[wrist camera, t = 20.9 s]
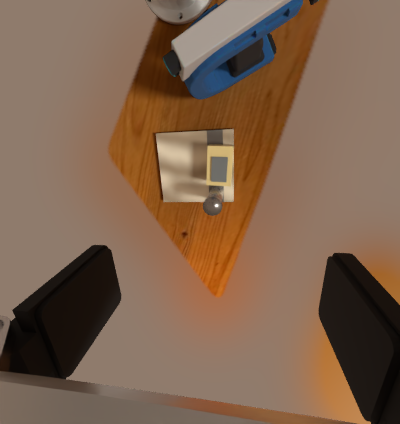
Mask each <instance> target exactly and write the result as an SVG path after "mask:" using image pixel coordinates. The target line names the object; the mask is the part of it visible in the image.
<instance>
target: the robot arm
mask: <svg viewBox="0 0 400 424" xmlns="http://www.w3.org/2000/svg"><path fill="white" fill-rule="evenodd" d="M145 1H146V3H147V4H148V6H149V7H150V9H151V10H152V11H153V13H154V14H155V15H156V16H157V17H159V18H160V19H161V20H163V21H165V22H167V23H170V24H175V25H179V24H186V23H189V22H191V21H193V20H195V19H196V18H198V17H199V16H200V15H201V14H202V13H203V12H204V11H205V10H206V8H207V7H208V6H209V4H210V2H211V0H152V1H151V0H145ZM180 17H183V18H182V19H180ZM120 301H121V292H120V287H119V283H118V278H117V274H116V270H115V265H114V261H113V257H112V252H111V250H110V249H108V247H107V246H105V245H93V246H91V247H90V248H89V249H87V250H86V251H85V252H84V253H82V254H81V255H80V256H79V257H77V258H76V259H75V260H74V261H72V262H71V263H70V264H69V265H68V266H66V267H65V268H64V269H63V270H61V271H60V272H59V273H58V274H56V275H55V276H54V277H53V278H51V279H50V280H49V281H48V282H46V283H45V284H44V285H43V286H42V287H40V288H39V289H38V290H37V291H35V292H34V293H33V294H32V295H30V296H29V297H28V298H27V299H25V300H24V301H23V302H22V303H21V304H19V305H18V306H17V307H16V308H14V309H13V313H14V315H15V317H16V318H14V319H13V320H12V321H10V319H9V318H8V317H6V316H0V424H355V423H350V422H344V421H338V420H332V419H326V418H321V417H314V416H308V415H301V414H295V413H289V412H282V411H275V410H269V409H263V408H256V407H249V406H242V405H237V404H230V403H223V402H217V401H210V400H203V399H196V398H189V397H184V396H177V395H170V394H163V393H156V392H150V391H143V390H136V389H129V388H122V387H116V386H109V385H102V384H95V383H87V382H80V381H73V380H66V377H69V376H70V375H71V374H72V373H73V372H74V370H75V369H76V367H77V366H78V364H79V362H80V361H81V360H82V358H83V357H84V355H85V354H86V352H87V351H88V349H89V348H90V346H91V345H92V343H93V342H94V340H95V339H96V337H97V336H98V334H99V333H100V331H101V330H102V328H103V327H104V326H105V324H106V323H107V321H108V319H109V318H110V317H111V315H112V314H113V312H114V311H115V309H116V308H117V306H118V305H119V303H120ZM319 317H320V320H321V323H322V325H323V327H324V329H325V331H326V334H327V336H328V339H329V341H330V343H331V345H332V348H333V350H334V352H335V355H336V357H337V359H338V361H339V363H340V366H341V368H342V370H343V373H344V375H345V377H346V380H347V382H348V384H349V386H350V389H351V391H352V393H353V395H354V398H355V400H356V402H357V405H358V407H359V409H360V412H361V414H362V416H363V417H364V419H365V420H366V421H370V422H371V424H400V305H399V304H398V303H397V302H396V301H395V299H394V298H393V297H392V296H391V295H390V294H389V293H388V292H387V291H386V290H385V289H384V288H383V287H382V285H381V284H380V283H379V282H378V281H377V280H376V279H375V278H374V277H373V276H372V275H371V274H370V273H369V271H368V270H367V269H366V268H365V267H364V266H363V265H362V264H361V263H360V262H359V261H358V260H357V258H356V257H355V256H354V255H353V254H349V253H334V254H333V256H332V257H331V256H330V257H328V259H327V265H326V271H325V276H324V282H323V288H322V294H321V299H320V305H319Z"/></svg>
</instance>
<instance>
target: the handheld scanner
mask: <svg viewBox="0 0 400 424" xmlns="http://www.w3.org/2000/svg"><path fill="white" fill-rule="evenodd" d="M309 1H310V4H311V5H313V4H314V3H316V2H317V1H319V0H309ZM302 4H303V0H226V1H224V2H223V3H221V4H220V5H219V6H218V5H217V3H216V4H215V5H214V6H212V7H211V8H210V9H207V10H206V11H204V12H203V13H202V14H201V16H200V17H199V18H198V19H197V20H196V21H195V22H193V23H192V24H191V25H190V27H189V28H188V29H187V30H186V31H185V32H183V33H182V34H180V35H179V36H178V37H176V38H175V39H174V40H172V42H171V46H172V51H170V52H169V53H168V54H166V55H165V56H163V60H164V63H165V65H166V67H167V69H168V70H169V72H170V74H171V75H172V76H174V77H176V76H177V75H180V77H181V79H182V81H184V82H185V84H186V86H187V88H188V90H189V92H190V94H191V95H192V96H193V97H195V98H196V99H205V98H208V97H211V96H213V95H215V94H217V93H220V92H221V91H223V90H225V89H227V88H229V87H230V86H232V85H234V84H235V83H237V82H238V81H240V80H242V79H243V78H245V77H247V76H248V75H250V74H252V73H253V72H255V71H256V70H258V69H260V68H261V67H263V66H265V65H266V64H268V63H270V62H271V61H272V60H273V58H274V54H275V53H276V46H275V44H274V41H273V38H272V35H270V32H272V31H273V30H275V29H276V28H278V27H279V26H281V25H282V24H284V23H285V22H287V21H288V20H290V19H291V18H293V17H294V16H296V15H297V13H298V12H299V10H300V8H301V6H302Z"/></svg>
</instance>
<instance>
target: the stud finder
mask: <svg viewBox="0 0 400 424" xmlns="http://www.w3.org/2000/svg"><path fill="white" fill-rule="evenodd" d="M233 152H234V145H219V144H210V145H208V148H207V181H206V185H213V186H231V179H232V165H233Z"/></svg>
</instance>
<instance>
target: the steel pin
mask: <svg viewBox="0 0 400 424" xmlns="http://www.w3.org/2000/svg"><path fill="white" fill-rule="evenodd" d="M223 194H224V191H223V189H222V188H221V187H220V186H214V187H212V188H211V190H210V192H209V194H208V197H207V198H206V199H205V201H204V203H203V209H204V211H205V212H206V213H207V214H208V215H212V216H213V215H217V214H219V213H220V211H221V209H222V199H223Z"/></svg>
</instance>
